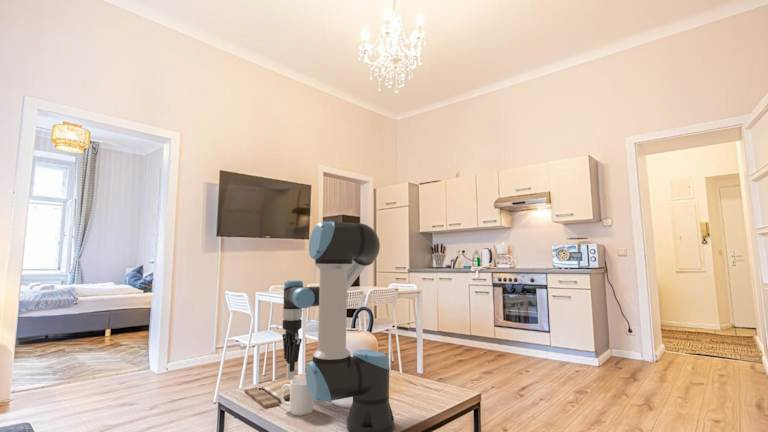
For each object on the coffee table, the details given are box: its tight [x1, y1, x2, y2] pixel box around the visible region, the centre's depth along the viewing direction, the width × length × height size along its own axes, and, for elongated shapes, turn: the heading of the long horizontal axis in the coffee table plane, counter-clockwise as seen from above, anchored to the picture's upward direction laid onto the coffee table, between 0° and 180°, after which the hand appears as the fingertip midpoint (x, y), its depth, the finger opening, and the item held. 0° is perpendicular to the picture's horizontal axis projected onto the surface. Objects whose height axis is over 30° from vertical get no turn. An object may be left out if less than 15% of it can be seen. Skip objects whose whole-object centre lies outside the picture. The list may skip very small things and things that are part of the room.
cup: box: [280, 377, 315, 416], centre depth 138 cm, size 8×12×10 cm
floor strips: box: [244, 386, 280, 409], centre depth 149 cm, size 20×6×1 cm, turn 39°
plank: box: [261, 376, 291, 403], centre depth 154 cm, size 16×10×2 cm, turn 38°
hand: (290, 379), depth 157 cm, fingers closed
